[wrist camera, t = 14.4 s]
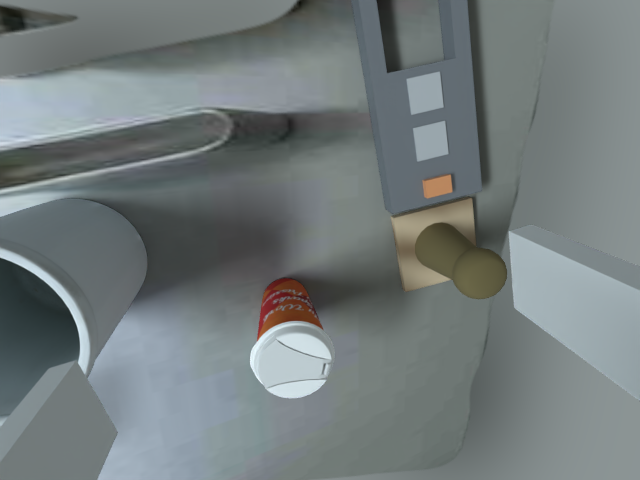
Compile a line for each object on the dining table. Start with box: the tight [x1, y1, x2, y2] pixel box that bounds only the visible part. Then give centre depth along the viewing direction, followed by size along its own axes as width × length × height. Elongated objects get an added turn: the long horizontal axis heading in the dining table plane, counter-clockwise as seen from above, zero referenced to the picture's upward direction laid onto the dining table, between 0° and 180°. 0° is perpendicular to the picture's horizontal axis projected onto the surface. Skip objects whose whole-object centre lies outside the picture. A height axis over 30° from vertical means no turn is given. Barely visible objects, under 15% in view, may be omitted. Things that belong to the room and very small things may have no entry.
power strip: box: [351, 0, 482, 214], centre depth 39 cm, size 31×11×3 cm, turn 12°
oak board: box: [391, 197, 476, 292], centre depth 47 cm, size 10×10×1 cm
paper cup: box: [250, 278, 335, 398], centre depth 40 cm, size 8×8×14 cm
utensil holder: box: [0, 199, 148, 427], centre depth 33 cm, size 15×15×18 cm
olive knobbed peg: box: [415, 222, 507, 299], centre depth 41 cm, size 6×6×11 cm
